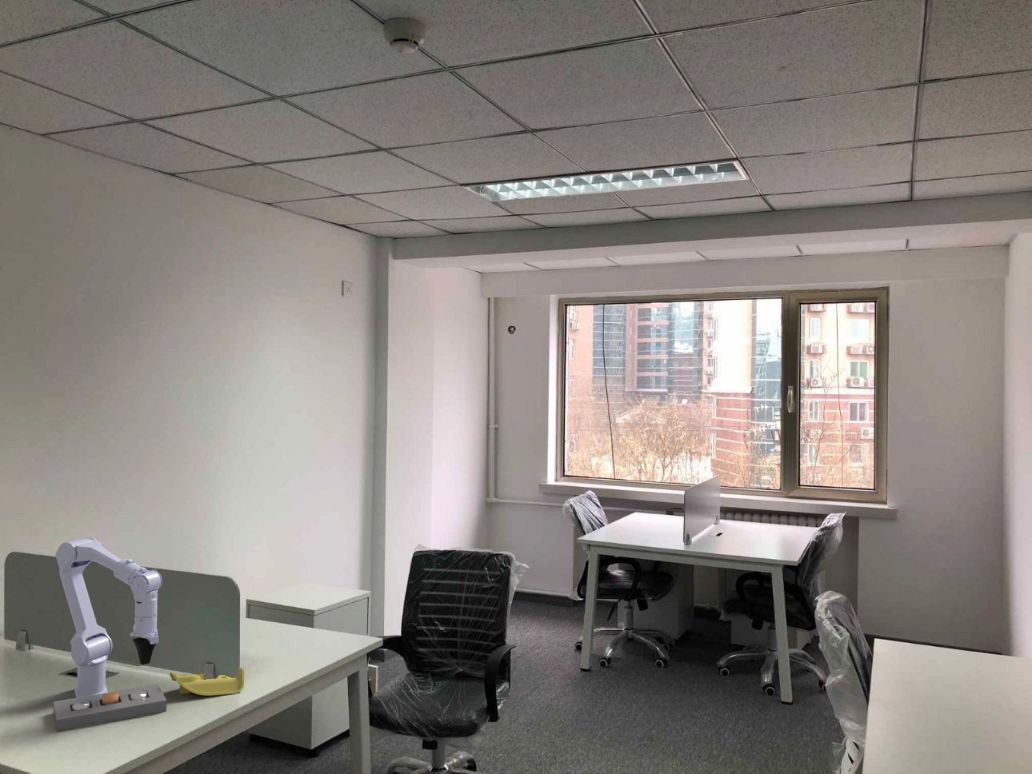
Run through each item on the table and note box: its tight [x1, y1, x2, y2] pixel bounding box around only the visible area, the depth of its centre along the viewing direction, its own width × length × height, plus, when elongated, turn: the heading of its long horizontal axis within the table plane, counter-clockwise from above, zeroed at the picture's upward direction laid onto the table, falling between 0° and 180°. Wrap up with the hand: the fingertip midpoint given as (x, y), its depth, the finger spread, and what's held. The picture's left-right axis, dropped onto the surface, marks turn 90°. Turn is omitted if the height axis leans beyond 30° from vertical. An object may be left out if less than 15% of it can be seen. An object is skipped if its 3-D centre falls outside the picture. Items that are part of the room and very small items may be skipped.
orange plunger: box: [102, 691, 119, 705], centre depth 216 cm, size 4×4×2 cm
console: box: [52, 683, 168, 732], centre depth 216 cm, size 14×26×3 cm, turn 123°
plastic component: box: [169, 666, 245, 697], centre depth 232 cm, size 20×7×10 cm
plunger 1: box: [72, 701, 90, 711], centre depth 212 cm, size 4×4×2 cm
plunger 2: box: [131, 692, 147, 700], centre depth 220 cm, size 4×4×2 cm
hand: (144, 663), depth 224 cm, fingers closed
